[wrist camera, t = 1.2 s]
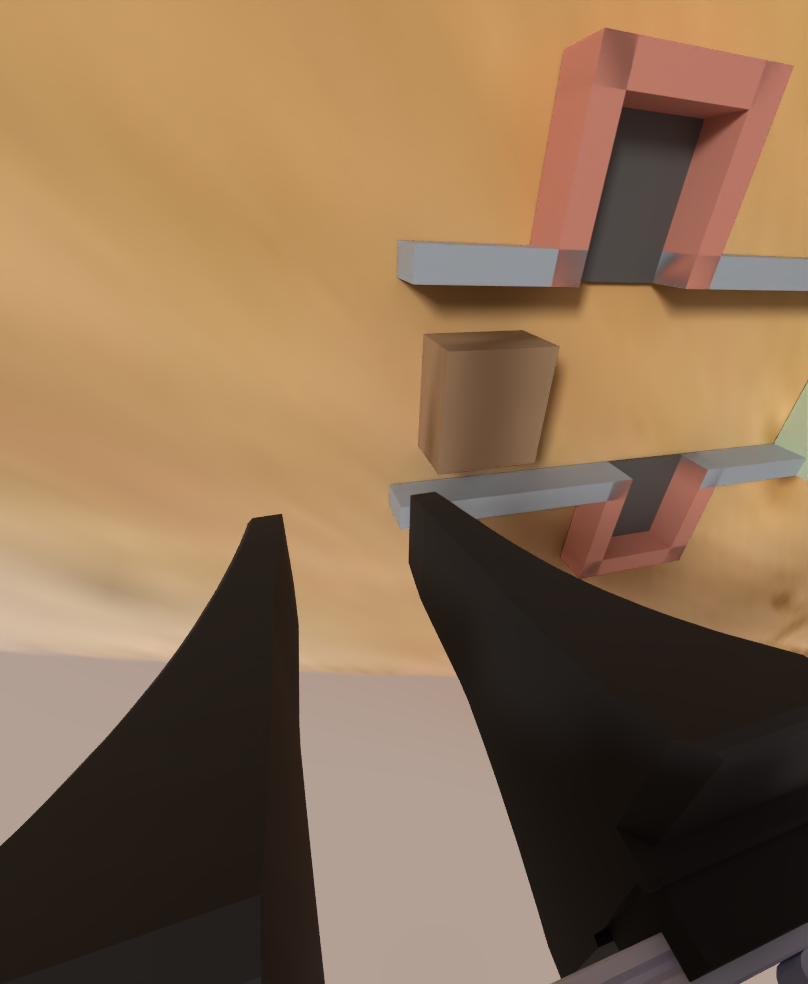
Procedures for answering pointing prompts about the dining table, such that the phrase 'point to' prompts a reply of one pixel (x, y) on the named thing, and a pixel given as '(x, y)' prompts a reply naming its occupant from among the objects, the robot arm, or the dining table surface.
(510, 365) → the walnut block
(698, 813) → the robot arm
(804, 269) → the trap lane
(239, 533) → the dining table surface
